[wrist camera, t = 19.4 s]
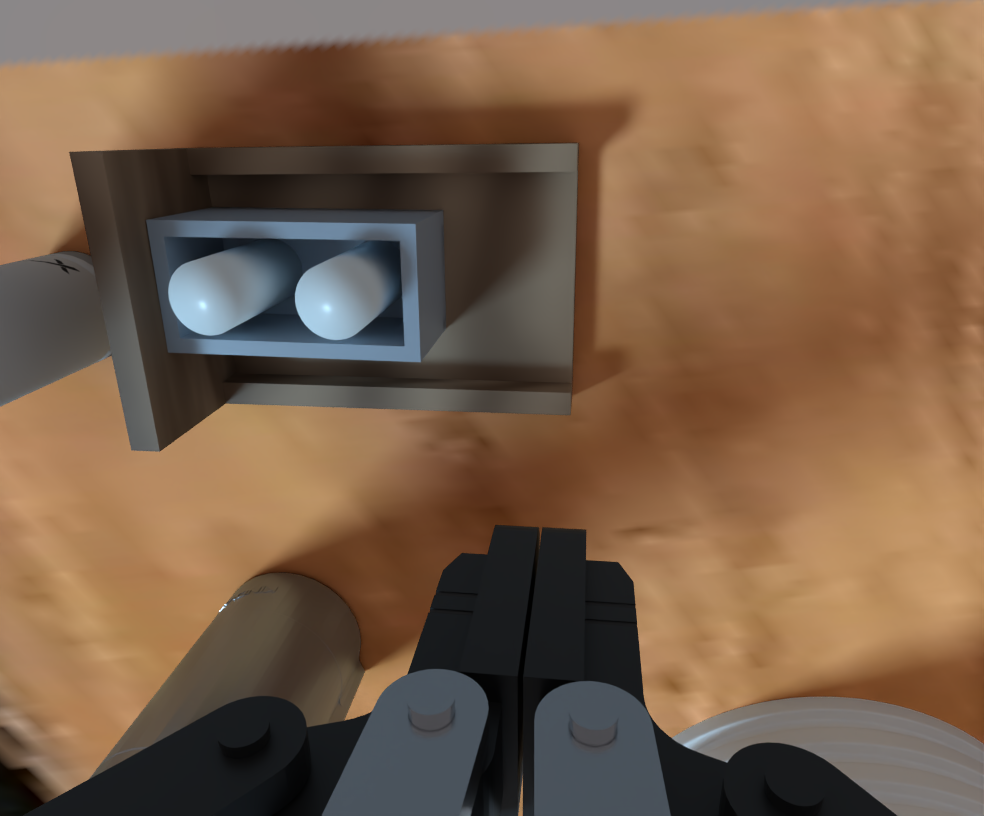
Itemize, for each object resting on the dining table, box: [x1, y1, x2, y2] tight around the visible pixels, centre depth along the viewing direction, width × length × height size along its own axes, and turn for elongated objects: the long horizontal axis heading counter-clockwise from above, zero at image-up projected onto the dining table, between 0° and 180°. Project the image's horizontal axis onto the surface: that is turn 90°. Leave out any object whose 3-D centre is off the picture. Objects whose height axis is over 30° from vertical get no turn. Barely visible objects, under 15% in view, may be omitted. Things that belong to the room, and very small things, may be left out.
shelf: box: [69, 143, 579, 452], centre depth 34 cm, size 20×13×9 cm, turn 91°
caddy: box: [146, 207, 446, 362], centre depth 34 cm, size 12×6×8 cm, turn 90°
